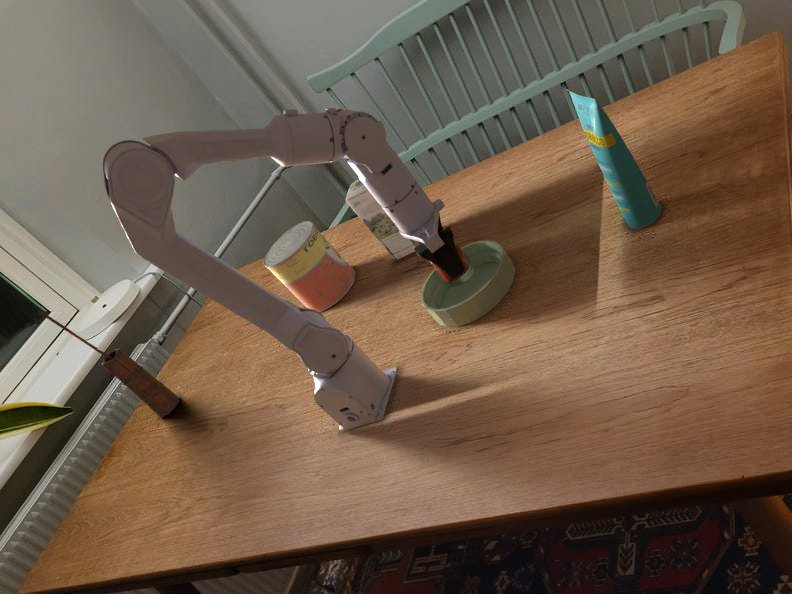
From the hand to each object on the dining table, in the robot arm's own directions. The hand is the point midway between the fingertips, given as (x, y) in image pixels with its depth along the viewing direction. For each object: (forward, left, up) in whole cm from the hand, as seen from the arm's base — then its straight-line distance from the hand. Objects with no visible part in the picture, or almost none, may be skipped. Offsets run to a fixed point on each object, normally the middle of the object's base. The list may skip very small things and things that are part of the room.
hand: (454, 266), depth 100 cm
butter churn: (0, +70, -6) cm, 70 cm away
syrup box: (+20, +17, -6) cm, 27 cm away
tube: (+3, -26, -6) cm, 27 cm away
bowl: (0, 0, -6) cm, 6 cm away
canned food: (+17, +35, -6) cm, 39 cm away
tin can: (0, 0, -2) cm, 2 cm away
